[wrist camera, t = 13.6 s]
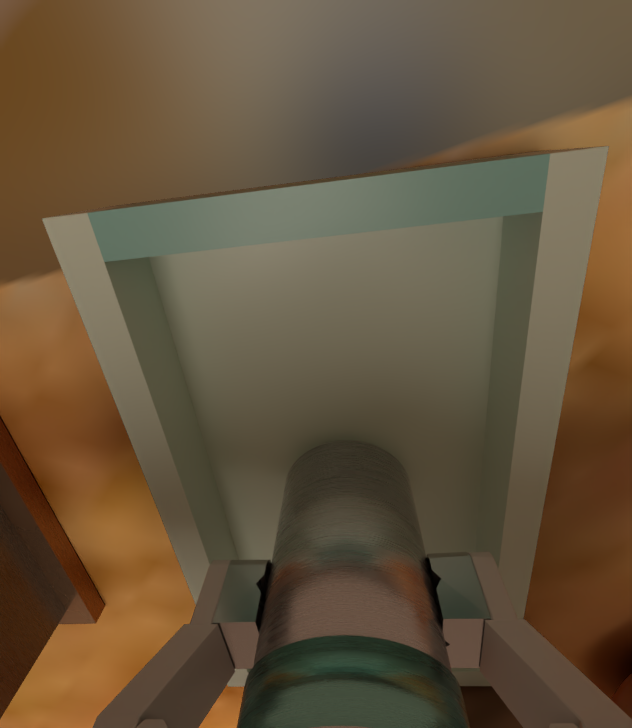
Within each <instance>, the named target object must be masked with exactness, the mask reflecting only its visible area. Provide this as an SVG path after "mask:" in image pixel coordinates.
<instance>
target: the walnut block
mask: <svg viewBox="0 0 632 728" xmlns="http://www.w3.org/2000/svg"><path fill="white" fill-rule="evenodd" d="M460 688H461V691H462V695H463V699H464V703H465V708H466V712H467V716H468V721H469V725H470V728H523V727H522V725H521V724H520V723H519V721H518V720H517V719H516V717H515V716H514V715H513V714H512V712H511V711H510V710H509V708H508V707H507V706H506V704H505V703H504V702H503V700H502V699H501V698H500V697H499V695H498V694H497V693H496V691H495V690H494V689H493V687H492V686H460Z"/></svg>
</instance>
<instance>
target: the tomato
mask: <svg viewBox="0 0 632 728" xmlns="http://www.w3.org/2000/svg"><path fill="white" fill-rule="evenodd" d="M611 700H612V701H613V702H614V703H615V704H616V705H617V706H618V707H619V708H620V709H621V710H622V711H624V712H625V713H626V714H627V715H628V716H629V717H630V718H631V719H632V673H631V674H630V675H629V676H628V677H627V678H626V679H625V680H624V681H623V683H622V684H621V685H620V687H619V688H618V690H617V691H616V692H615V694H614V695H613V697H612V699H611Z"/></svg>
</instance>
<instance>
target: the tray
mask: <svg viewBox="0 0 632 728" xmlns="http://www.w3.org/2000/svg"><path fill="white" fill-rule="evenodd" d="M608 148H609V146H602V147H588V148H574V149H560V150H547V151H535V152H528V153H520V154H512V155H504V156H497V157H489V158H481V159H473V160H466V161H458V162H450V163H442V164H435V165H427V166H419V167H411V168H404V169H396V170H388V171H380V172H373V173H365V174H357V175H350V176H342V177H334V178H326V179H318V180H311V181H303V182H296V183H287V184H280V185H272V186H264V187H257V188H249V189H242V190H233V191H225V192H218V193H210V194H202V195H194V196H187V197H179V198H171V199H163V200H156V201H148V202H140V203H132V204H125V205H117V206H110V207H105V208H99V209H93V210H87V211H82V212H76V213H71V214H66V215H59V216H54V217H48V218H43V219H42V220H43V223H44V225H45V228H46V230H47V233H48V235H49V238H50V240H51V243H52V245H53V248H54V251H55V253H56V256H57V258H58V260H59V263H60V265H61V268H62V271H63V273H64V276H65V278H66V281H67V283H68V286H69V288H70V291H71V293H72V296H73V298H74V301H75V303H76V306H77V308H78V311H79V313H80V316H81V318H82V321H83V323H84V326H85V328H86V331H87V333H88V336H89V338H90V341H91V343H92V346H93V348H94V351H95V353H96V356H97V358H98V361H99V363H100V366H101V368H102V371H103V373H104V376H105V378H106V381H107V383H108V386H109V388H110V391H111V393H112V396H113V399H114V401H115V404H116V406H117V409H118V411H119V414H120V416H121V419H122V421H123V424H124V426H125V429H126V431H127V434H128V436H129V439H130V441H131V444H132V446H133V449H134V451H135V454H136V456H137V459H138V461H139V464H140V466H141V469H142V471H143V474H144V476H145V479H146V481H147V484H148V486H149V489H150V491H151V494H152V496H153V499H154V501H155V504H156V506H157V509H158V511H159V514H160V516H161V519H162V521H163V524H164V526H165V529H166V531H167V534H168V536H169V539H170V541H171V544H172V546H173V549H174V552H175V554H176V557H177V559H178V562H179V564H180V567H181V569H182V572H183V574H184V577H185V579H186V582H187V584H188V587H189V589H190V592H191V594H192V597H193V599H194V602H195V604H197V601H198V598H199V595H200V592H201V589H202V586H203V583H204V580H205V577H206V574H207V571H208V568H209V566H210V564H211V563H212V561H213V560H271V562H272V557H273V551H274V545H275V540H276V534H277V528H278V522H279V517H280V511H281V505H282V500H283V494H284V488H285V483H286V478H287V475H288V472H289V470H290V468H291V467H292V465H293V464H294V462H295V461H296V460H297V459H298V458H299V457H300V456H301V455H303V454H304V453H305V452H307V451H308V450H310V449H312V448H314V447H316V446H319V445H322V444H325V443H329V442H333V441H344V440H351V441H360V442H365V443H369V444H372V445H375V446H378V447H380V448H382V449H384V450H386V451H387V452H389V453H390V454H392V455H393V456H394V457H395V458H396V459H397V460H398V461H399V462H400V463H401V464H402V465H403V467H404V468H405V470H406V472H407V474H408V477H409V480H410V484H411V489H412V494H413V498H414V503H415V507H416V512H417V516H418V521H419V525H420V530H421V534H422V539H423V543H424V548H425V552H426V556H427V554H431V553H452V552H467V553H468V552H490V553H491V554H492V555H493V557H494V560H495V562H496V565H497V568H498V570H499V573H500V575H501V578H502V580H503V583H504V585H505V588H506V590H507V593H508V595H509V598H510V600H511V603H512V605H513V608H514V610H515V613H516V615H517V618H518V619H523V618H524V613H525V607H526V602H527V596H528V591H529V585H530V580H531V574H532V569H533V563H534V558H535V552H536V547H537V541H538V536H539V530H540V524H541V519H542V513H543V508H544V502H545V497H546V491H547V486H548V480H549V475H550V469H551V464H552V458H553V453H554V447H555V442H556V436H557V430H558V425H559V419H560V414H561V408H562V403H563V397H564V392H565V386H566V381H567V375H568V370H569V364H570V359H571V353H572V348H573V342H574V336H575V331H576V325H577V320H578V314H579V309H580V303H581V298H582V292H583V287H584V281H585V276H586V270H587V265H588V259H589V254H590V248H591V242H592V237H593V231H594V226H595V220H596V215H597V209H598V204H599V198H600V193H601V187H602V182H603V176H604V171H605V165H606V160H607V154H608ZM250 670H251V669H235V673H234V674H233V676H232V677H231V679H230V680H229V682H228V683H227V684H228V686H245V682H246V678H247V676H248V674H249V672H250ZM451 670H452V674H453V675H454V676H455V677H456V679H457V681H458V683H459V685H460V686H491V685H490V683H489V682H488V681H487V680H486V678H485V677H484V676H483V674H482V673H481V672H480V668H451Z"/></svg>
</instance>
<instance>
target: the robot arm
mask: <svg viewBox="0 0 632 728" xmlns="http://www.w3.org/2000/svg"><path fill="white" fill-rule="evenodd" d="M426 559H427V563H428V568H429V572H430V577H431V582H432V585H433V589H434V593H435V598H436V604H437V609H438V613H439V618H440V622H441V627H442V631H443V635H444V639H445V643H446V648H447V652H448V657H449V661H450V666H451V668H480V672H481V673H482V674H483V676H484V677H485V678H486V680H487V681H488V682H489V683H490V685H491V686H492V687H493V689H494V690H495V691H496V693H497V694H498V695H499V697H500V698H501V699H502V700H503V702H504V703H505V704H506V706H507V707H508V708H509V710H510V711H511V712H512V714H513V715H514V716H515V717H516V719H517V720H518V721H519V723H520V724H521V725H522V727H523V728H632V719H631V718H630V717H629V716H628V715H627V714H626V713H625V712H624V711H622V710H621V709H620V708H619V707H618V706H617V705H616V704H615V703H614V702H613V701H612V700H611V699H610V698H609V697H607V696H606V695H605V694H604V693H603V692H602V691H601V690H600V689H599V688H598V687H597V686H596V685H595V684H594V683H592V682H591V681H590V680H589V679H588V678H587V677H586V676H585V675H584V674H583V673H582V672H581V671H580V670H579V669H577V668H576V667H575V666H574V665H573V664H572V663H571V662H570V661H569V660H568V659H567V658H566V657H565V656H564V655H562V654H561V653H560V652H559V651H558V650H557V649H556V648H555V647H554V646H553V645H552V644H551V643H550V642H549V641H547V640H546V639H545V638H544V637H543V636H542V635H541V634H540V633H539V632H538V631H537V630H536V629H535V628H534V627H532V626H531V625H530V624H529V623H528V622H527V621H526V620H525V619H518V618H517V615H516V613H515V610H514V608H513V605H512V603H511V600H510V598H509V595H508V593H507V590H506V588H505V585H504V583H503V580H502V578H501V575H500V573H499V570H498V568H497V565H496V562H495V560H494V557H493V555H492V554H491V553H490V552H468V553H467V552H452V553H431V554H427V556H426ZM270 568H271V560H213V561H212V563H211V564H210V566H209V568H208V571H207V574H206V577H205V580H204V583H203V586H202V589H201V592H200V595H199V598H198V601H197V604H196V607H195V610H194V613H193V616H192V619H191V622H190V624H184V625H183V626H182V627H181V628H180V629H179V630H178V632H177V633H176V634H175V635H174V636H173V637H172V638H171V639H170V640H169V641H168V642H167V643H166V644H165V645H164V646H163V647H162V649H161V650H160V651H159V652H158V653H157V654H156V655H155V656H154V657H153V658H152V659H151V660H150V661H149V662H148V663H147V664H146V665H145V667H144V668H143V669H142V670H141V671H140V672H139V673H138V674H137V675H136V676H135V677H134V678H133V679H132V680H131V681H130V682H129V684H128V685H127V686H126V687H125V688H124V689H123V690H122V691H121V692H120V693H119V694H118V695H117V696H116V697H115V698H114V699H113V701H112V702H111V703H110V704H109V705H108V706H107V707H106V708H105V709H104V710H103V711H102V712H101V713H100V714H99V715H98V717H97V719H96V721H95V723H94V726H93V728H198V727H199V726H200V724H201V723H202V721H203V720H204V718H205V717H206V715H207V714H208V712H209V711H210V709H211V708H212V706H213V705H214V703H215V702H216V700H217V699H218V697H219V696H220V694H221V693H222V691H223V690H224V688H225V686H226V685H227V683H228V682H229V680H230V679H231V677H232V676H233V674H234V673H235V669H252V667H253V665H254V659H255V654H256V648H257V642H258V637H259V631H260V625H261V619H262V614H263V608H264V602H265V597H266V591H267V585H268V580H269V574H270Z"/></svg>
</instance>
